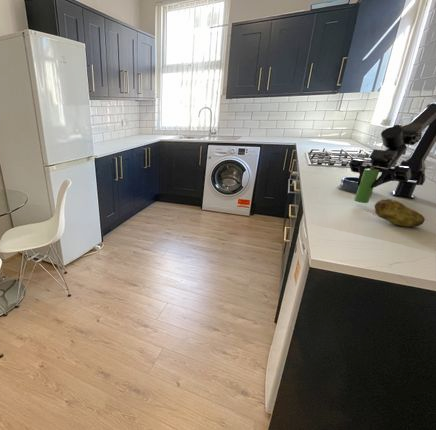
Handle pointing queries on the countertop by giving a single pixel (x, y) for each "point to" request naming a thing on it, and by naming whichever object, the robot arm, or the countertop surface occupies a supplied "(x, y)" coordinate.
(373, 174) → the courgette
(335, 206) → the countertop surface
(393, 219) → the potato
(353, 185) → the blue bowl
